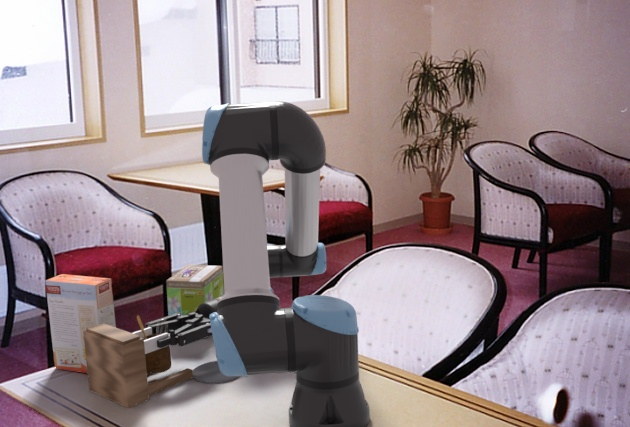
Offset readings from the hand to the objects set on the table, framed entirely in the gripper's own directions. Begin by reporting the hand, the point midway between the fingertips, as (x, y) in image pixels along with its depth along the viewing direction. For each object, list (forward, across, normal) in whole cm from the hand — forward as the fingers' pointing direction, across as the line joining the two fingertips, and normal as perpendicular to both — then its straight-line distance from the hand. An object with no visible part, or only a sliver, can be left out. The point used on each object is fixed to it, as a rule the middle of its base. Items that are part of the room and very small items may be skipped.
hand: (134, 344), depth 169 cm
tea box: (-31, +18, -10) cm, 37 cm away
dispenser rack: (-1, 0, -9) cm, 10 cm away
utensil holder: (-5, 0, -7) cm, 9 cm away
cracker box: (+1, +18, -10) cm, 20 cm away
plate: (-15, -8, -9) cm, 20 cm away
